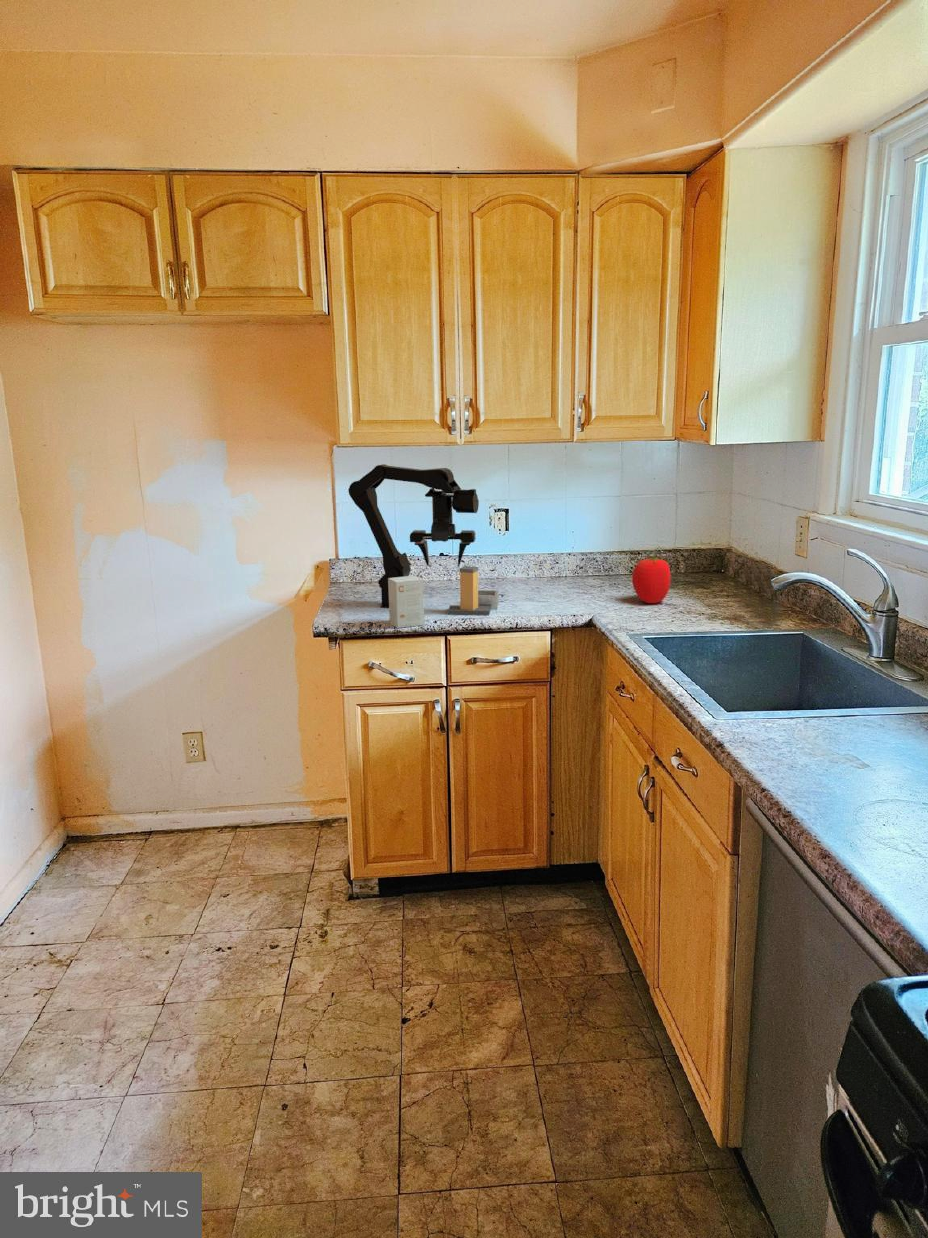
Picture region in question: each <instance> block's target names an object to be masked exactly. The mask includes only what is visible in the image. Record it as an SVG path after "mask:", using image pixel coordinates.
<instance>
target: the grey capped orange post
mask: <svg viewBox="0 0 928 1238" xmlns="http://www.w3.org/2000/svg"><path fill="white" fill-rule="evenodd" d="M459 582H460V583H459V585H460V586H459V590H460V591H459V592H460V593H459V594H460V595H459V598H460V600H459V601H460V604H459V606H460V609H464V610H475V609H476V608H478V590H479V566H471V565H469V566H468V565H464V566H462V567H461V568H459Z"/></svg>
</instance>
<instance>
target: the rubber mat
mask: <svg viewBox="0 0 928 1238" xmlns="http://www.w3.org/2000/svg"><path fill="white" fill-rule="evenodd" d="M491 610H492V609H491V606H478V608H476V609H475V610H464V609H460V605H455V604H453V605H450V606H449V607H448V609H447V615H448V616H450V615H453V616H454V615H455V616H459V615H460V616H462V615H463V616H490V614H491Z"/></svg>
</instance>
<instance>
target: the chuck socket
mask: <svg viewBox="0 0 928 1238" xmlns="http://www.w3.org/2000/svg"><path fill="white" fill-rule="evenodd" d="M499 596H500V595H499V590H490V589H489V590H484V589H483V590H481V589H480V590H479V589H478V606H491V610H497V609H498V606H499V599H500V598H499Z"/></svg>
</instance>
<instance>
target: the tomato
mask: <svg viewBox="0 0 928 1238" xmlns="http://www.w3.org/2000/svg"><path fill="white" fill-rule="evenodd" d="M671 574H672V573H671V569H670V565H669V563H668V562H667V561H666V560H664V559H662V558H659V557H657V556H654V555H653V557H651V558H645V559H642V560H640V561H638V562H637V563H636V565H635V566H634V569H633V572H632V577H631V579H632V580H631V581H632V587H633V589H634V591H635V594H636V595H637V597H638V598H639V599H640V600H641V601H642V602H644V603H646V604H658V603H661V602H662V601H663V600H664V599H665V598H666V596H667V595H668V592H669V591H670V586H671V578H672V577H671Z"/></svg>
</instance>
